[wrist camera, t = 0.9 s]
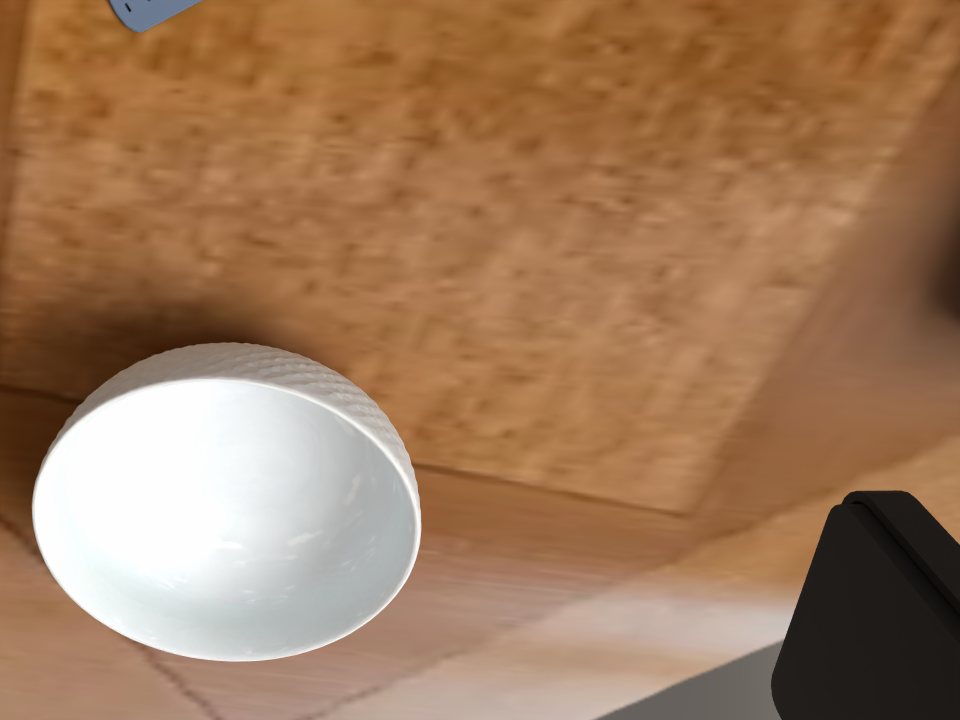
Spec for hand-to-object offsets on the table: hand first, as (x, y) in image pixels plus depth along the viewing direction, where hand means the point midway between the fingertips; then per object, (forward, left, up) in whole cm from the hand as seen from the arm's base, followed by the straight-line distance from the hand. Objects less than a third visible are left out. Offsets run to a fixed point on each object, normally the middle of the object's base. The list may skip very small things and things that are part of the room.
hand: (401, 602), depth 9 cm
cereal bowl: (+20, -5, -31) cm, 37 cm away
